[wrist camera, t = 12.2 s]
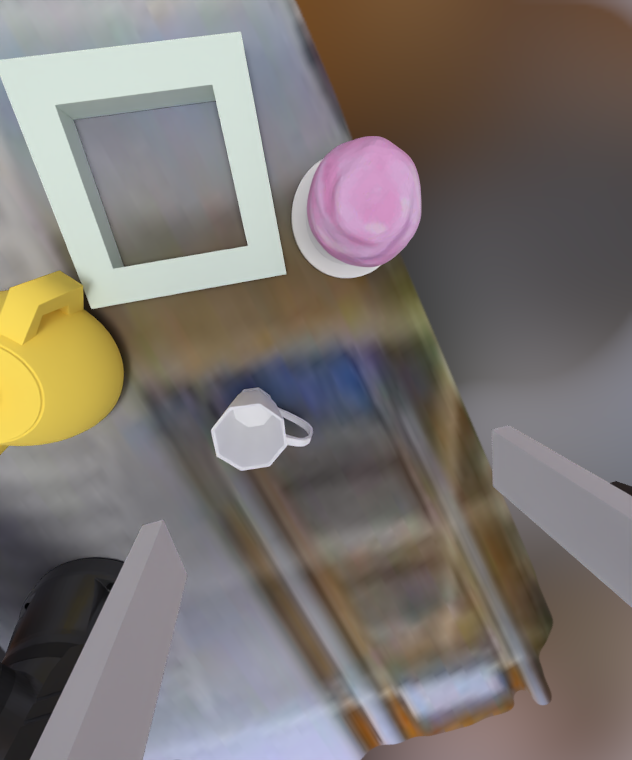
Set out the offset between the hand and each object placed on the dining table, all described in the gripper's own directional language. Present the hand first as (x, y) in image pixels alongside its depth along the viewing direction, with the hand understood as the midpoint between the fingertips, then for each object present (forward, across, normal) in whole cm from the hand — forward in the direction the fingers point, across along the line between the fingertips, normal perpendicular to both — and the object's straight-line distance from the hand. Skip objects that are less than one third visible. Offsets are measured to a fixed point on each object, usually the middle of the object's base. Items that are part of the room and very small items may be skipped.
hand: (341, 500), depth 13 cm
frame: (+25, -7, +18) cm, 31 cm away
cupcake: (+23, +8, +12) cm, 27 cm away
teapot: (+26, -24, +6) cm, 36 cm away
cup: (+25, -4, -5) cm, 26 cm away
